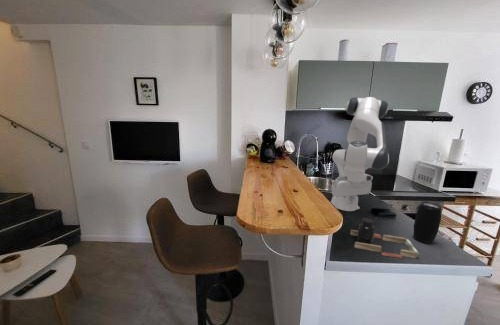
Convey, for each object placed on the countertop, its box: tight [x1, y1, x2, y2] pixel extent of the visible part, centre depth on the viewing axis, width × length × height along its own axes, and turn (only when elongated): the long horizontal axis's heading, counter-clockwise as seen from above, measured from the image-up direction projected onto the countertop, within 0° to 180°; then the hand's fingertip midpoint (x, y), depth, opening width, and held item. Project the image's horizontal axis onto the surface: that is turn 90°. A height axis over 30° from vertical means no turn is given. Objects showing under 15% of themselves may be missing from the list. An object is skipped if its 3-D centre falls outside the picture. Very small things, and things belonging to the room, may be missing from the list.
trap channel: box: [350, 229, 420, 260], centre depth 102 cm, size 18×26×2 cm
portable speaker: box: [413, 200, 442, 245], centre depth 105 cm, size 9×9×20 cm
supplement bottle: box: [356, 217, 376, 245], centre depth 102 cm, size 7×7×12 cm
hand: (349, 203), depth 101 cm, fingers closed
